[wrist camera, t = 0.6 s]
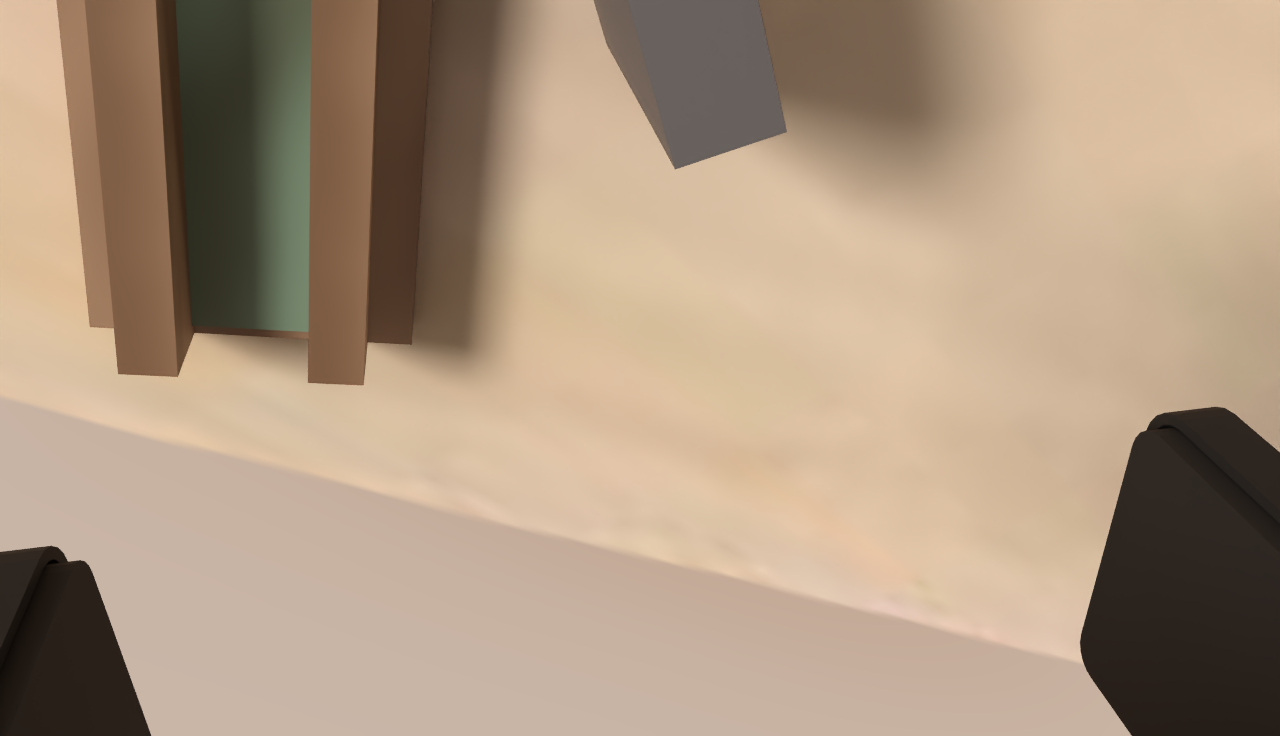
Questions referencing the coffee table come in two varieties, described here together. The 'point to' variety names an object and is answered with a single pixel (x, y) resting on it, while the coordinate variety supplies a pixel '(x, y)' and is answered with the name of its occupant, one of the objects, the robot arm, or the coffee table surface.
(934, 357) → the coffee table surface
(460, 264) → the coffee table surface
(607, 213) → the coffee table surface
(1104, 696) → the robot arm
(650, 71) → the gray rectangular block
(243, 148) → the display stand
